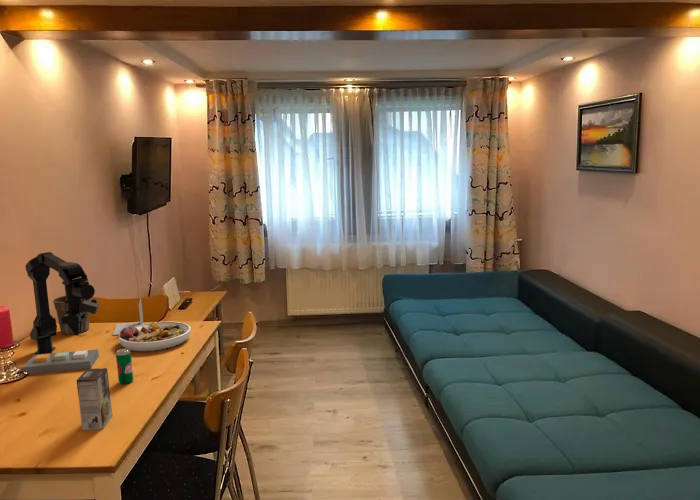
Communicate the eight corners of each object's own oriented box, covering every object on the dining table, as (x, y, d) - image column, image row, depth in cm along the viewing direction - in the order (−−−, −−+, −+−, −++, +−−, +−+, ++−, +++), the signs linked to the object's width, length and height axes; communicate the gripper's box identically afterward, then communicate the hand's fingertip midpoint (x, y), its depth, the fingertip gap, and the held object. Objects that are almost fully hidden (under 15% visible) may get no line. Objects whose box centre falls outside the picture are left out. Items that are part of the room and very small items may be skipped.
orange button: (38, 362, 225) (37, 354, 224) (50, 360, 226) (49, 353, 225) (34, 365, 220) (34, 358, 220) (47, 364, 221) (46, 357, 221)
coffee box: (92, 417, 179) (86, 368, 176) (113, 415, 179) (108, 367, 177) (81, 430, 170) (75, 379, 167) (103, 429, 170) (97, 378, 168)
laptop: (116, 325, 277) (113, 299, 275) (143, 322, 281) (141, 297, 278) (112, 336, 260) (109, 309, 258) (141, 333, 264) (138, 306, 261)
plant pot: (64, 326, 277) (60, 294, 274) (98, 324, 278) (95, 292, 276) (50, 337, 261) (46, 303, 258) (87, 335, 262) (83, 301, 260)
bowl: (189, 328, 269) (188, 312, 268) (193, 348, 241) (191, 330, 240) (121, 336, 260) (120, 319, 259) (117, 358, 232) (115, 339, 231)
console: (35, 362, 229) (34, 354, 229) (98, 356, 234) (98, 349, 233) (23, 374, 216) (22, 367, 215) (90, 368, 220) (89, 361, 220)
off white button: (76, 358, 227) (75, 351, 227) (88, 357, 228) (87, 350, 228) (73, 362, 223) (72, 355, 223) (85, 361, 224) (84, 354, 224)
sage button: (57, 360, 226) (56, 353, 226) (69, 359, 227) (68, 351, 226) (54, 364, 222) (53, 356, 221) (66, 363, 223) (65, 355, 222)
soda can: (128, 385, 203) (125, 353, 201) (115, 384, 204) (112, 352, 202) (136, 379, 208) (133, 348, 206) (123, 378, 209) (120, 347, 207)
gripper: (90, 300, 214) (94, 340, 217) (101, 289, 232) (105, 325, 235) (58, 302, 212) (63, 342, 214) (71, 291, 230) (76, 328, 232)
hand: (78, 334), depth 224 cm, fingers closed
